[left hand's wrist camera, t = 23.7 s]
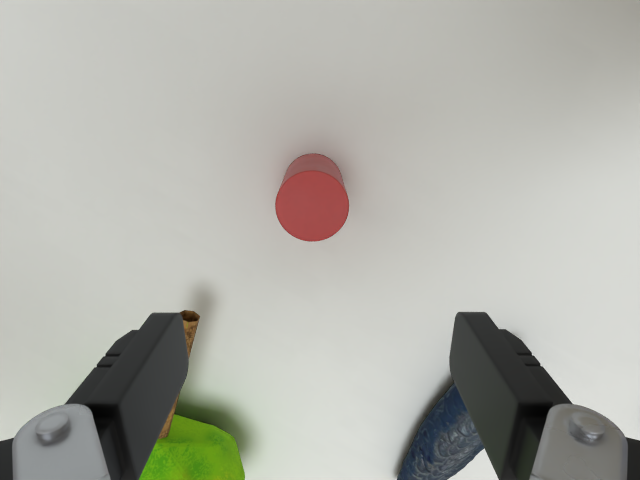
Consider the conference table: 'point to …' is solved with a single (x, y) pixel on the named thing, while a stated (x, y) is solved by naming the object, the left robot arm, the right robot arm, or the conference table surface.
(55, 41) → the conference table surface
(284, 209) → the can
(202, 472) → the decorative tree
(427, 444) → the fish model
